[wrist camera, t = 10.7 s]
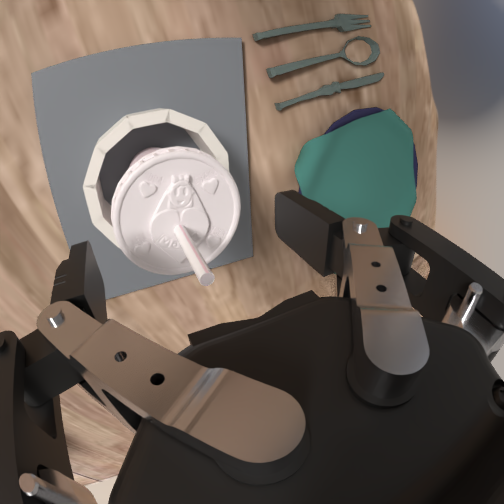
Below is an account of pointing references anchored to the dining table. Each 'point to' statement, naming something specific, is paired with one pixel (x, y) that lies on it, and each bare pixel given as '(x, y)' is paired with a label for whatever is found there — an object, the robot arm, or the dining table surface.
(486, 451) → the robot arm
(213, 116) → the sleeve stand
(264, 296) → the dining table surface
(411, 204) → the cutlery set
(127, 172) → the smoothie
